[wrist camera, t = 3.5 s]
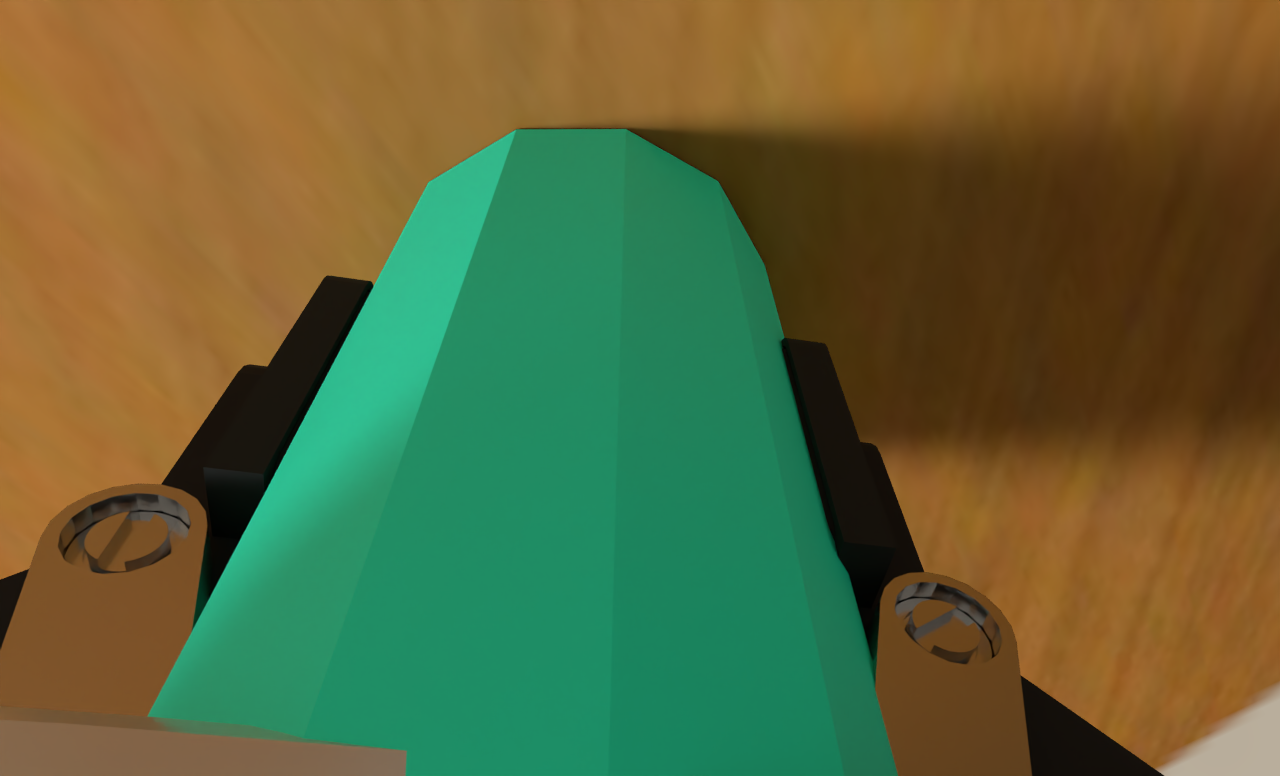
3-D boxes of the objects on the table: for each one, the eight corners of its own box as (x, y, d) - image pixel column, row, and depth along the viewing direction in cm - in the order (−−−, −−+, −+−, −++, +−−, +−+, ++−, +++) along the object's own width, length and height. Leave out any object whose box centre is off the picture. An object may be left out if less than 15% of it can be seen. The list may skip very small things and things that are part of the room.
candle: (845, 308, 14) (1320, 1481, 4) (588, 511, 17) (518, 1581, 7) (567, 29, 12) (235, 1180, 2) (312, 310, 14) (-420, 1492, 4)
